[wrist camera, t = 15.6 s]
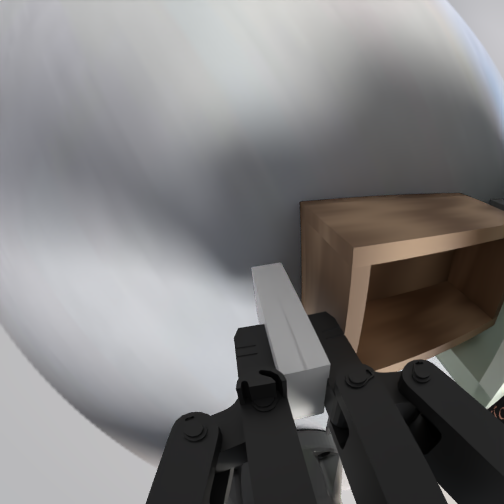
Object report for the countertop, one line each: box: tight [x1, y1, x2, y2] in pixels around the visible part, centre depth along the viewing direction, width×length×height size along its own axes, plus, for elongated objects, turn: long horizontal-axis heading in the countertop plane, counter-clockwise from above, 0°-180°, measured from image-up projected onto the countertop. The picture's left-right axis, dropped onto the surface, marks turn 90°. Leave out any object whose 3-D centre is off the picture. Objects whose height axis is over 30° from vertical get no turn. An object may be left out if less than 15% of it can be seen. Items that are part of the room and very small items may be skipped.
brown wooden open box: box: [300, 193, 504, 372], centre depth 12 cm, size 12×7×6 cm, turn 95°
